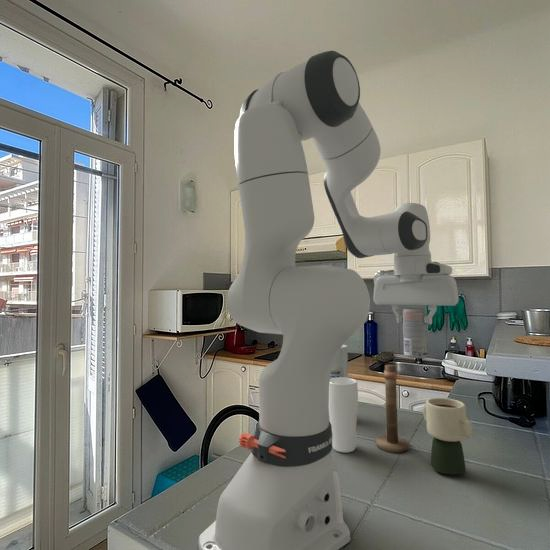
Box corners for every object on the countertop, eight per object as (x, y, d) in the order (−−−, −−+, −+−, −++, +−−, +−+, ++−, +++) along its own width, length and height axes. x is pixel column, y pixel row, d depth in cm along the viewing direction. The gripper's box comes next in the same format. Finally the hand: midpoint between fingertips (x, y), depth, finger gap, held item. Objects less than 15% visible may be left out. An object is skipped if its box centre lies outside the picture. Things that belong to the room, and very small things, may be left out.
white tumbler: (357, 457, 74) (355, 385, 75) (325, 452, 76) (324, 383, 77) (360, 444, 81) (359, 378, 81) (331, 440, 83) (330, 376, 84)
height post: (402, 456, 74) (399, 370, 75) (371, 447, 79) (369, 366, 80) (413, 445, 80) (411, 365, 81) (384, 437, 84) (381, 361, 85)
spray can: (321, 419, 97) (320, 346, 98) (332, 412, 102) (330, 343, 103) (342, 423, 93) (341, 348, 94) (353, 416, 98) (351, 345, 100)
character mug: (486, 479, 65) (483, 408, 65) (460, 488, 62) (457, 413, 63) (438, 455, 75) (435, 393, 75) (412, 461, 72) (410, 397, 73)
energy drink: (422, 354, 90) (421, 307, 91) (430, 358, 85) (428, 308, 85) (401, 354, 90) (399, 308, 91) (407, 358, 85) (405, 309, 86)
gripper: (368, 270, 93) (369, 322, 92) (452, 265, 80) (454, 326, 79) (378, 271, 98) (379, 321, 97) (459, 267, 85) (461, 324, 84)
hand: (414, 323), depth 88 cm, fingers closed on energy drink, 5 cm apart
